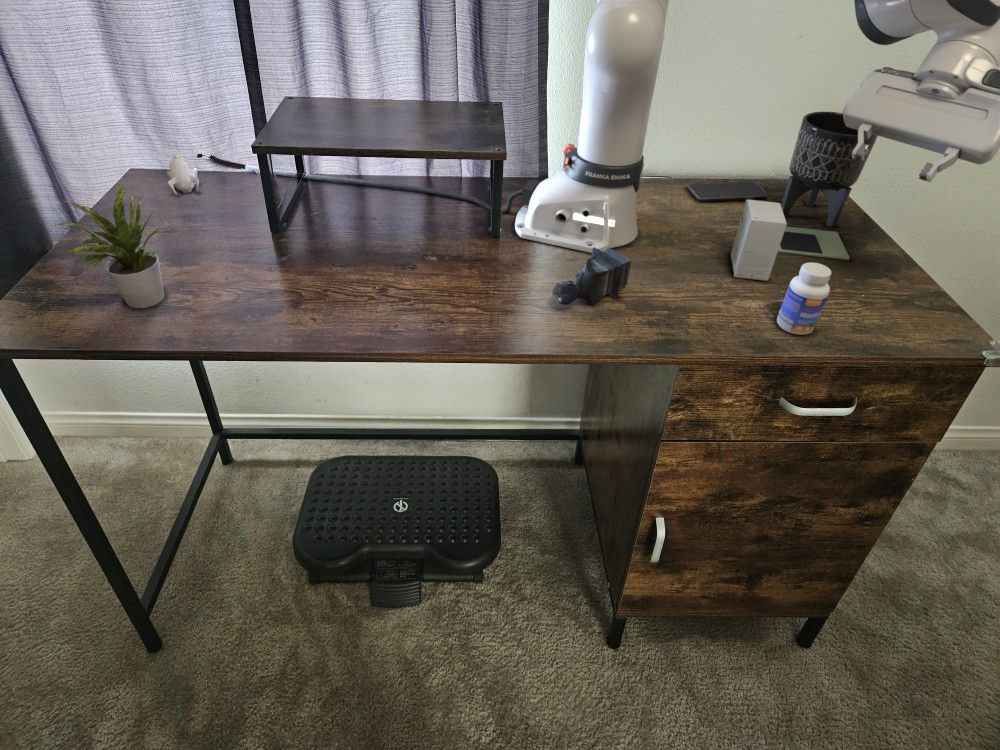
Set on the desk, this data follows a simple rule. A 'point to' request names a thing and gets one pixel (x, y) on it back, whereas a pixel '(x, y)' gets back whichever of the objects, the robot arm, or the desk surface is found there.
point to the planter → (824, 162)
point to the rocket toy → (182, 175)
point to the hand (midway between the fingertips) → (889, 167)
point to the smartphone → (727, 191)
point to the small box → (757, 239)
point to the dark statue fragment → (595, 278)
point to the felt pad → (813, 243)
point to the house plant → (124, 253)
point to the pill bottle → (805, 299)
